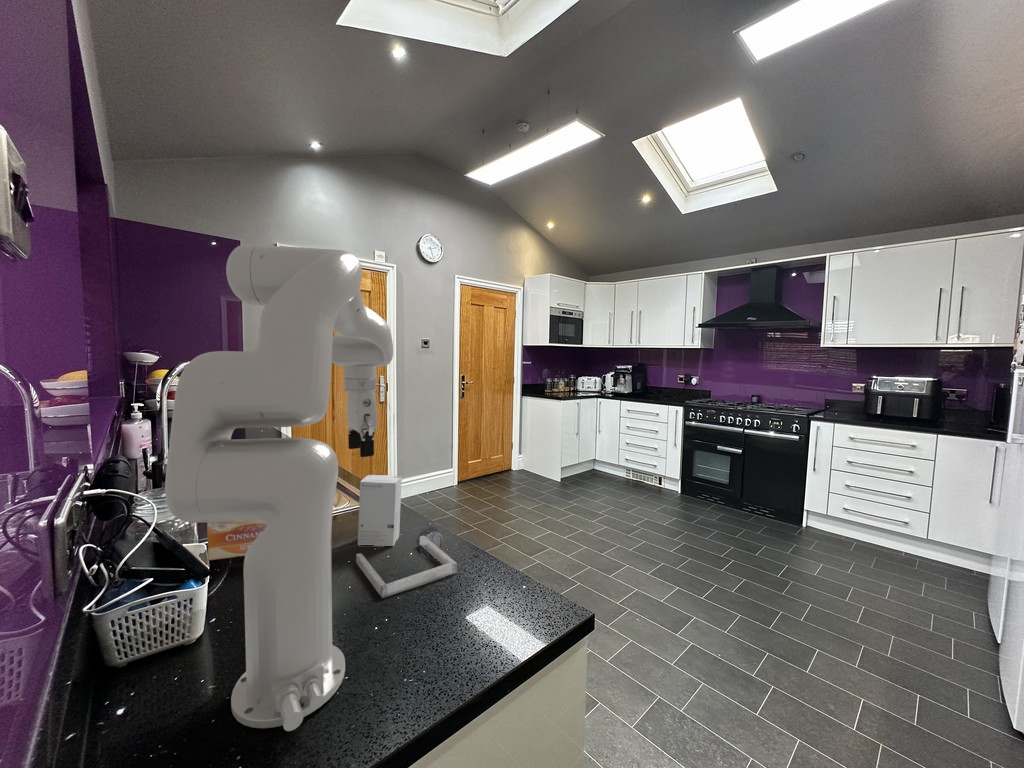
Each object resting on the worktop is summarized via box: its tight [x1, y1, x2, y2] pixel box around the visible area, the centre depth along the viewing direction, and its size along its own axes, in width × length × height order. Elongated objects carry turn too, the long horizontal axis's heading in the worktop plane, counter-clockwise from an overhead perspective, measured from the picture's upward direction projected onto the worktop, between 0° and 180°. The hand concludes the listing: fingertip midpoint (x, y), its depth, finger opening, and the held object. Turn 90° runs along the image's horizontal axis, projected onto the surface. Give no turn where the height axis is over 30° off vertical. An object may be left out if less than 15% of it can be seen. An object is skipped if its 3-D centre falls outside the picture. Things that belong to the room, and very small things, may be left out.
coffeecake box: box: [206, 520, 267, 561], centre depth 86 cm, size 15×7×20 cm, turn 114°
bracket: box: [355, 535, 458, 599], centre depth 81 cm, size 15×15×2 cm
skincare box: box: [357, 474, 403, 547], centre depth 92 cm, size 8×6×15 cm
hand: (360, 452), depth 102 cm, fingers open, 9 cm apart
